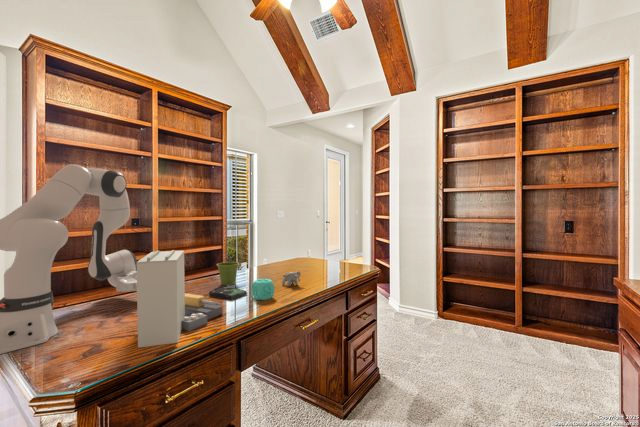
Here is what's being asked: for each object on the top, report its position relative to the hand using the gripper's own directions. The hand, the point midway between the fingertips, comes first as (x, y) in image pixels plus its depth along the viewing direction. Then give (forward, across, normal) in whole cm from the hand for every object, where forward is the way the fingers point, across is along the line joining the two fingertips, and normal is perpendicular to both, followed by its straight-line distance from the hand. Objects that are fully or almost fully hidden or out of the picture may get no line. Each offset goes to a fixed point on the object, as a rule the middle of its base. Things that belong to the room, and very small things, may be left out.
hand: (155, 284), depth 136 cm
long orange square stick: (+22, 0, -6) cm, 23 cm away
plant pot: (+4, -41, -8) cm, 42 cm away
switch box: (+35, +10, -9) cm, 38 cm away
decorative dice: (+36, -29, -8) cm, 47 cm away
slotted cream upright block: (+30, +18, -9) cm, 36 cm away
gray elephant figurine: (+38, -54, -8) cm, 66 cm away
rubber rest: (+25, 0, -9) cm, 27 cm away
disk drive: (+19, -24, -9) cm, 32 cm away
